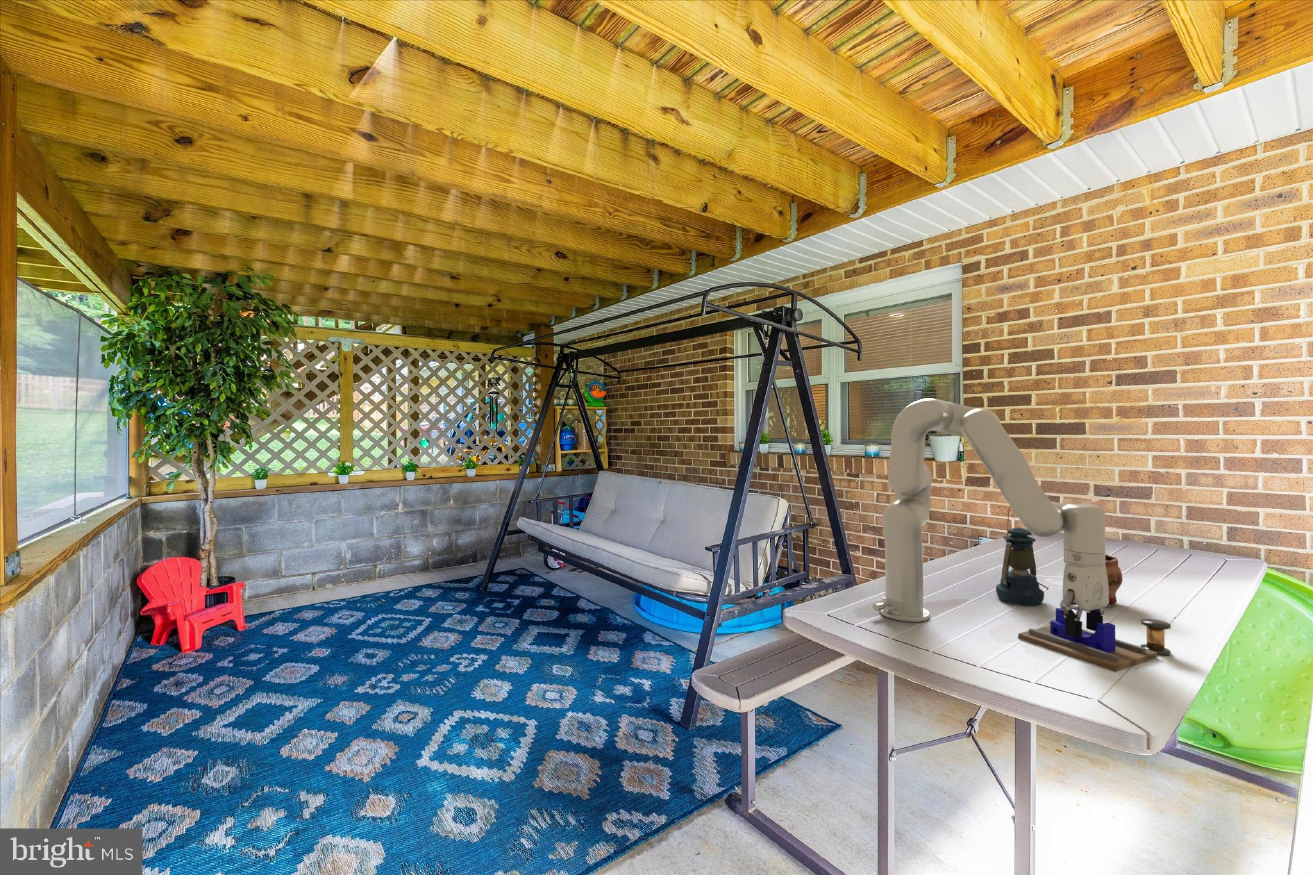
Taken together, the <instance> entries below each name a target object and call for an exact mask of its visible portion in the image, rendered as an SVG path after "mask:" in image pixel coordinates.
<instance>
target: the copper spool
mask: <svg viewBox="0 0 1313 875" xmlns="http://www.w3.org/2000/svg"><path fill="white" fill-rule="evenodd" d="M1140 624H1142V625H1143V626H1145V627H1146V643H1143V644H1140V647H1143V648H1146V649H1147V650H1150V651H1154V652H1157V656H1162V657H1169V656H1171V655H1172V654H1171V653H1172V652H1171V650H1170V649H1168V648H1166V647H1165V644H1166V643H1165V640H1166V639H1165V636H1166V635H1165V630H1170V629H1171V628H1172V627H1171V626H1172V625H1171V624H1170V623H1169V622H1166V621H1164V620H1161V619H1154V618H1141V619H1140Z"/></svg>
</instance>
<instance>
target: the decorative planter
mask: <svg viewBox="0 0 1313 875" xmlns="http://www.w3.org/2000/svg"><path fill="white" fill-rule="evenodd" d="M1105 567H1106V571H1107V577H1108V589H1109V604H1108V605H1107V606H1106V607H1113V606H1115V605H1116V604H1117V602H1118V601H1117V596H1116V594H1117V592H1118V590H1119V589H1120V587H1121V586H1122V584H1123V574H1122V571H1121V570H1122V569H1121V568H1120V566H1119V560H1118V558H1117V556H1112V555H1109V554H1106V553H1105Z"/></svg>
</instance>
